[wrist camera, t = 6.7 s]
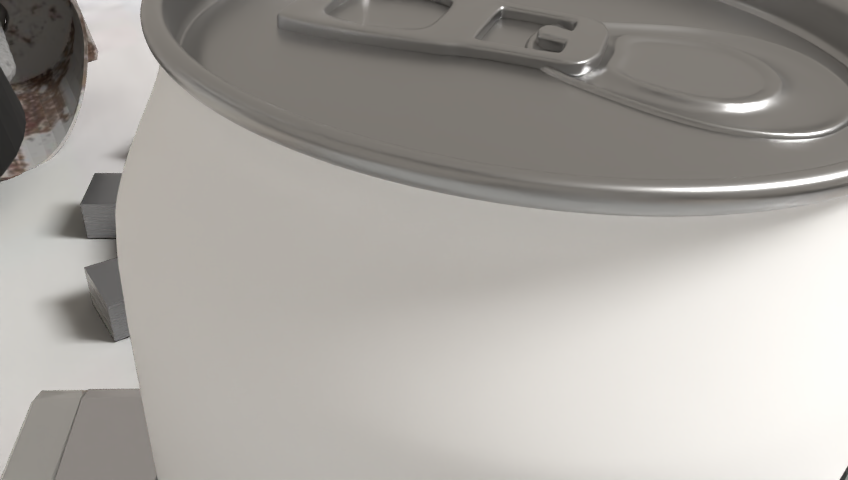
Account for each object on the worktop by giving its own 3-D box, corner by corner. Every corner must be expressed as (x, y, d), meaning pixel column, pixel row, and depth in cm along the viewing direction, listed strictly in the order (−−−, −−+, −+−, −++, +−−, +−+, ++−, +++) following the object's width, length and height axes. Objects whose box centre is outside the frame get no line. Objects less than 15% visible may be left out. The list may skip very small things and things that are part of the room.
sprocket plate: (-13, 473, 16) (-30, 428, 15) (148, 93, 31) (143, 61, 30) (821, 432, 18) (844, 392, 18) (590, 100, 34) (596, 71, 33)
